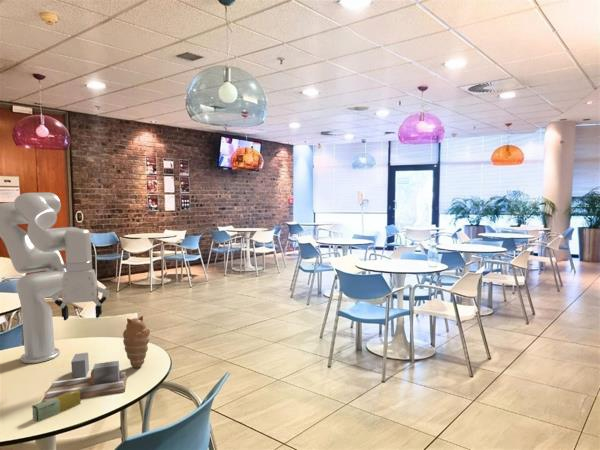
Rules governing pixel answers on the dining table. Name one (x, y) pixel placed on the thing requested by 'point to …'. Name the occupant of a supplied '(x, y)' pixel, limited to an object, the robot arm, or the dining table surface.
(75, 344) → the dining table surface
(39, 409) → the medication box
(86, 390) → the rail mount
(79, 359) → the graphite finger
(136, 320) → the cat ice cream
